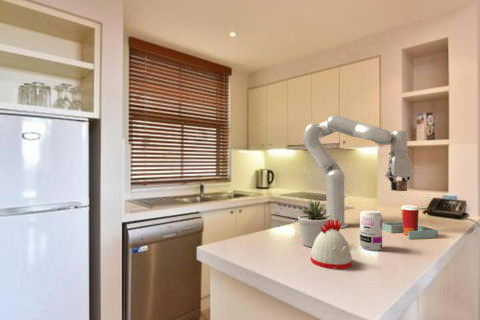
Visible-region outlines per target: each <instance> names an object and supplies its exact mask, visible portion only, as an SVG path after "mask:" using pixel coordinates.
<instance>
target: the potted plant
mask: <svg viewBox="0 0 480 320" xmlns="http://www.w3.org/2000/svg"><path fill="white" fill-rule="evenodd" d="M314 200H315V201H313V199H312V198H310V201H307V204H308V205H309V206H308V207H310V209H302V210H299V212H301V213H302V214H303V215H300V216H298V217H297V220H298V223H299V231H300V236H301V241H302V245H303V246H306V247H308V248H312V247H313V244H314V241H315V239H316V238H317V236H318V235H319V234H320V233H321V232H322V230H321V228H320V226H321V227H322V228H323V229H325V227H324V223H326V225H327V222H328V220H329V219H328V218H327V217H329V216H327V212H323V213H322V211H323V209H324V206H325V205H326V203H324V204H323V205H321V204H320V203H321V201H320V200H319V199H314ZM325 215H326V216H325ZM330 216H331V215H330Z"/></svg>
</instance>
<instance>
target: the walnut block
mask: <svg viewBox="0 0 480 320" xmlns="http://www.w3.org/2000/svg"><path fill="white" fill-rule="evenodd" d="M396 182H397V190H392V189H390V190H391V191H393V192H395V191H396V192H408V182H407V181H402V180H396Z"/></svg>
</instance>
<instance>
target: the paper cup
mask: <svg viewBox="0 0 480 320" xmlns="http://www.w3.org/2000/svg"><path fill="white" fill-rule="evenodd" d="M400 209H401V215H402V217H401V218H402V222H403V230H404V232H403V235H404V236H406V237H408V231H418V225H419V211H420V208H419V206H417V205H412V204H403V205H402V206H401V207H400Z"/></svg>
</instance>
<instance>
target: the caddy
mask: <svg viewBox="0 0 480 320" xmlns="http://www.w3.org/2000/svg"><path fill="white" fill-rule="evenodd" d="M382 231H384V232H387V233H391V234H398V233H399V234H400V233H404V230H403V221H393V222H392V221H391V222H382ZM438 236H439V235H438V229H434V228H430V227H427V226H423V225H420V224H418V231H408V236H407V239H408V240H419V239H420V240H422V239H437V238H438Z"/></svg>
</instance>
